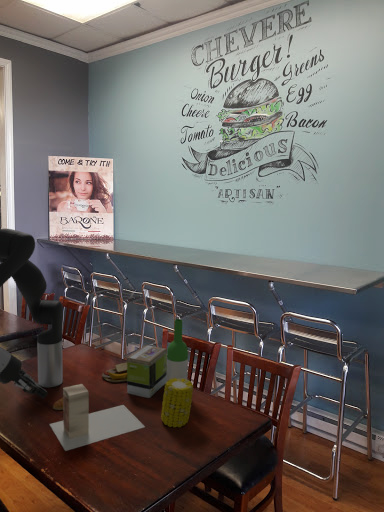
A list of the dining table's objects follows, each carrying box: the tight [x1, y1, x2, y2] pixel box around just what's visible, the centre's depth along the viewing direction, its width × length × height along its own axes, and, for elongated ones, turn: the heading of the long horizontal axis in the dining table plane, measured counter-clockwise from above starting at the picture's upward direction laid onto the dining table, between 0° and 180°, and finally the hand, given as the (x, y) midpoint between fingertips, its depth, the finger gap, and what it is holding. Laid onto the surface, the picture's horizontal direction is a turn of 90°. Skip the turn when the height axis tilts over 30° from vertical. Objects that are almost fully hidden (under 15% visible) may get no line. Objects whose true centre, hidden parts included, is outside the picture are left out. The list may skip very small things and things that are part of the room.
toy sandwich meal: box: [101, 361, 127, 383], centre depth 179 cm, size 12×14×5 cm
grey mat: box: [49, 404, 146, 452], centre depth 141 cm, size 17×26×1 cm, turn 123°
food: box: [160, 378, 194, 428], centre depth 144 cm, size 15×12×10 cm
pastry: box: [52, 397, 63, 411], centre depth 153 cm, size 9×7×4 cm
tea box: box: [126, 344, 168, 399], centre depth 168 cm, size 15×10×15 cm, turn 157°
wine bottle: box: [166, 318, 189, 382], centre depth 161 cm, size 8×8×30 cm
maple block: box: [62, 383, 90, 439], centre depth 136 cm, size 6×6×14 cm
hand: (45, 395), depth 130 cm, fingers closed
